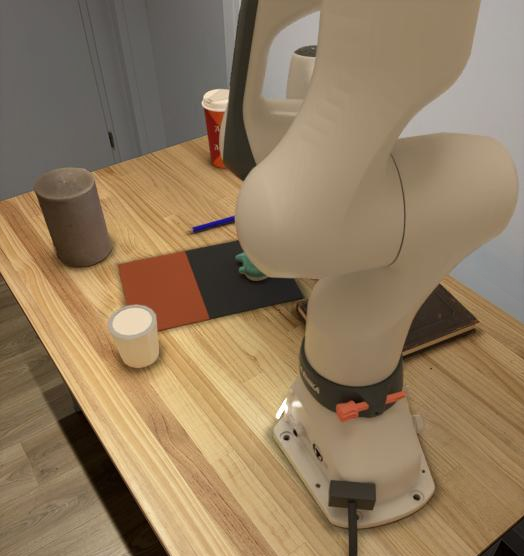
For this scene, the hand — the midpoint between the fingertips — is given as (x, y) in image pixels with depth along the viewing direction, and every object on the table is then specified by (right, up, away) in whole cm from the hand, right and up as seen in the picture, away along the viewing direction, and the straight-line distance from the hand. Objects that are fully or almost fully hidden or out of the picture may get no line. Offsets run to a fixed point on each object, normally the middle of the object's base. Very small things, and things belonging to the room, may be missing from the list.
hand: (307, 235), depth 94 cm
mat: (-17, -8, 0) cm, 18 cm away
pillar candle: (-40, -2, +6) cm, 40 cm away
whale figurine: (-9, -6, +2) cm, 11 cm away
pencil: (-14, +5, +11) cm, 18 cm away
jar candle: (-26, -20, -11) cm, 34 cm away
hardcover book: (+11, -15, -6) cm, 20 cm away
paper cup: (-16, +21, +26) cm, 37 cm away
